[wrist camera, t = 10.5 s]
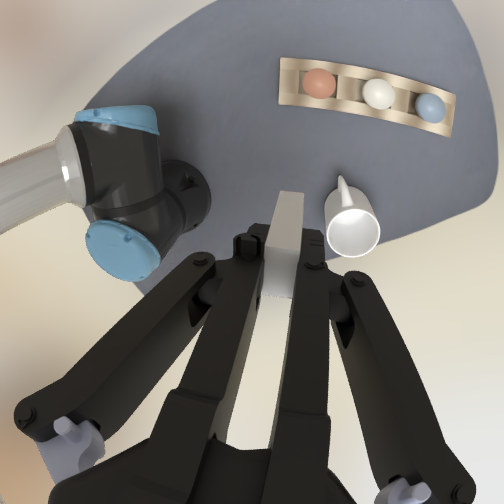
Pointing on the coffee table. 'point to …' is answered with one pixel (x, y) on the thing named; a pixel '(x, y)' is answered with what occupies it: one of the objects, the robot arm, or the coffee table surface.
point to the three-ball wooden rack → (350, 93)
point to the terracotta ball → (319, 83)
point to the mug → (350, 221)
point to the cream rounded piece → (378, 93)
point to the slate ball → (430, 108)
